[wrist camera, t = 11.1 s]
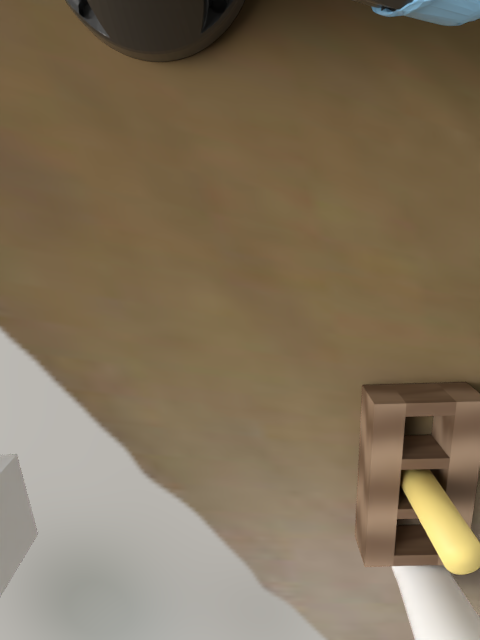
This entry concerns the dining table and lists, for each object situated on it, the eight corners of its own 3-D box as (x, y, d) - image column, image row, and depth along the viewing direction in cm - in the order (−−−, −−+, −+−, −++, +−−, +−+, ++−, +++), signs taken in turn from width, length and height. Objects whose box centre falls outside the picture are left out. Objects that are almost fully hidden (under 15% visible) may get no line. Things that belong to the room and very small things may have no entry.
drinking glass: (393, 528, 46) (462, 679, 32) (453, 538, 46) (547, 693, 32) (375, 576, 48) (432, 740, 34) (433, 586, 48) (513, 752, 34)
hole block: (362, 385, 41) (374, 404, 38) (465, 382, 41) (488, 401, 37) (354, 536, 46) (365, 566, 43) (447, 534, 46) (465, 564, 42)
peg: (390, 450, 43) (444, 542, 32) (422, 448, 43) (487, 539, 32) (390, 477, 44) (441, 575, 33) (421, 475, 44) (484, 573, 33)
